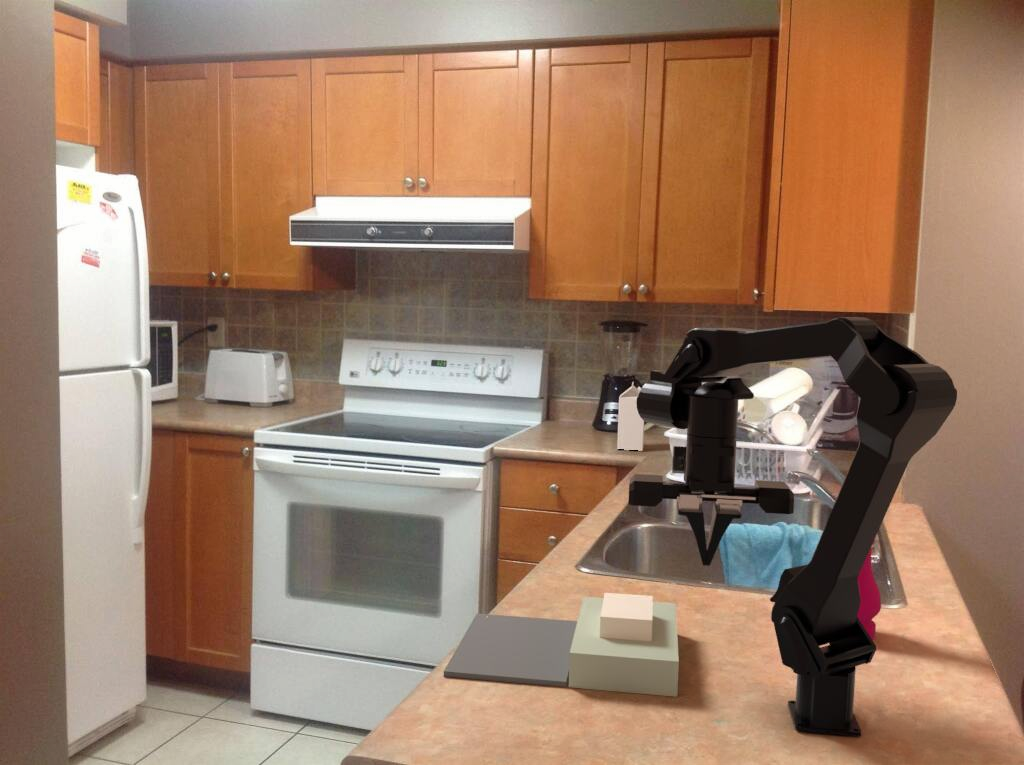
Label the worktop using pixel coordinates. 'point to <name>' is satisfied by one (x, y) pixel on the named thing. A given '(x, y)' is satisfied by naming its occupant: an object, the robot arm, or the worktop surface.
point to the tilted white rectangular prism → (626, 617)
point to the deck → (625, 654)
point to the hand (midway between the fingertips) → (706, 564)
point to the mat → (514, 650)
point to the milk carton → (630, 421)
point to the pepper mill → (868, 596)
